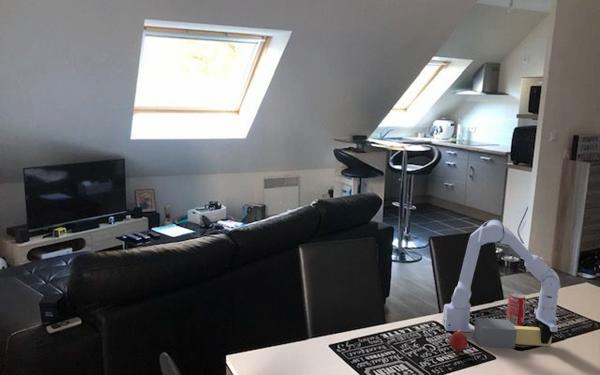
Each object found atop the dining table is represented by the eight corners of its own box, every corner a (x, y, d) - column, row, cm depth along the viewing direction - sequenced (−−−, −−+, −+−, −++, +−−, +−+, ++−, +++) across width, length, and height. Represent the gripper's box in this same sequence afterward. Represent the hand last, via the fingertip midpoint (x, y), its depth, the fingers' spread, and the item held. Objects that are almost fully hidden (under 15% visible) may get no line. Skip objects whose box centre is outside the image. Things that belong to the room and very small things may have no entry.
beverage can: (519, 320, 190) (523, 292, 188) (525, 328, 184) (529, 298, 182) (503, 319, 191) (506, 291, 189) (508, 326, 185) (512, 297, 182)
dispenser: (479, 346, 169) (481, 327, 168) (473, 335, 177) (475, 317, 176) (516, 348, 168) (518, 330, 167) (508, 337, 176) (510, 319, 175)
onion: (457, 357, 161) (459, 335, 160) (445, 349, 166) (447, 328, 165) (469, 353, 164) (472, 332, 162) (457, 346, 169) (459, 325, 167)
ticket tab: (504, 343, 171) (506, 328, 170) (502, 339, 173) (504, 325, 172) (550, 346, 170) (552, 331, 169) (547, 342, 172) (549, 327, 171)
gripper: (568, 315, 161) (563, 352, 164) (550, 297, 176) (545, 332, 178) (547, 314, 162) (542, 350, 164) (530, 296, 176) (526, 331, 178)
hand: (542, 341), depth 171 cm, fingers closed on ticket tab, 2 cm apart
